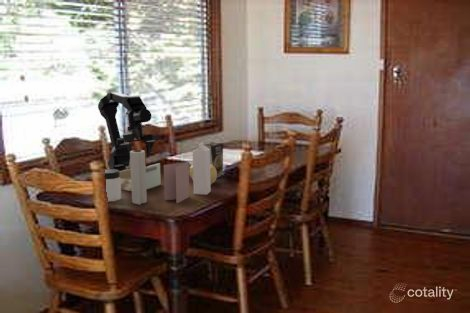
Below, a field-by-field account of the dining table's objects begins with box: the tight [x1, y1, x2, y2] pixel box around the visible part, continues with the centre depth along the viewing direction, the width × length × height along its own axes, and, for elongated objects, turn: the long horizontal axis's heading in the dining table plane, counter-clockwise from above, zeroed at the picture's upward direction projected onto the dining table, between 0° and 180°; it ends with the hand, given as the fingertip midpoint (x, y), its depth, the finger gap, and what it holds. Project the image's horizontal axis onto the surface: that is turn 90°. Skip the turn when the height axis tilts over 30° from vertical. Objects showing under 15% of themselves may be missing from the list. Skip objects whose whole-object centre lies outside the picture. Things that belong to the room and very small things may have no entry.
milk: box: [192, 141, 212, 196], centre depth 254 cm, size 6×6×22 cm
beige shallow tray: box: [119, 167, 132, 192], centre depth 268 cm, size 14×16×7 cm
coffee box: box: [203, 142, 224, 178], centre depth 287 cm, size 9×6×16 cm
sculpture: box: [189, 163, 218, 185], centre depth 271 cm, size 12×12×11 cm
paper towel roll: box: [129, 149, 148, 206], centre depth 239 cm, size 7×6×21 cm
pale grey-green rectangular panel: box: [145, 162, 162, 190], centre depth 264 cm, size 1×15×10 cm, turn 150°
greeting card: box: [163, 161, 190, 204], centre depth 243 cm, size 11×7×15 cm, turn 123°
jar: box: [104, 168, 122, 202], centre depth 246 cm, size 9×8×12 cm
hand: (139, 158), depth 266 cm, fingers open, 9 cm apart
